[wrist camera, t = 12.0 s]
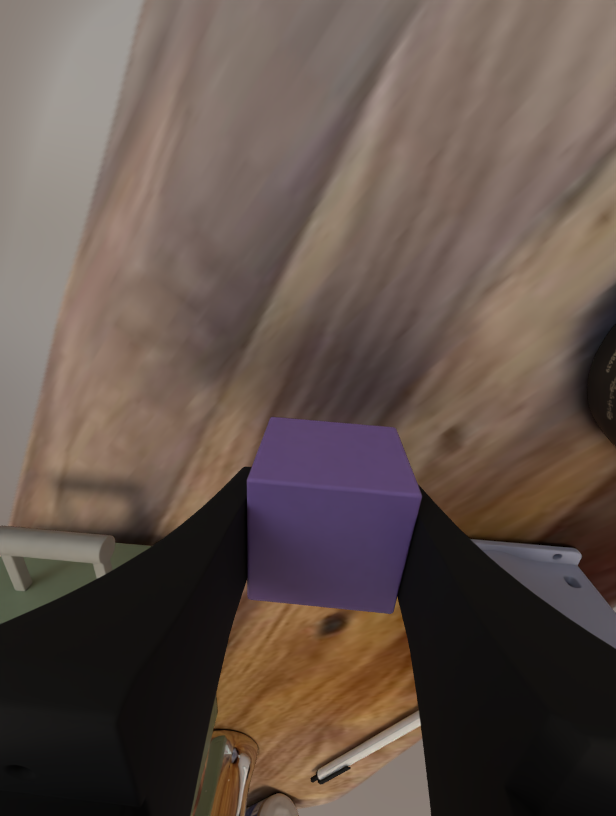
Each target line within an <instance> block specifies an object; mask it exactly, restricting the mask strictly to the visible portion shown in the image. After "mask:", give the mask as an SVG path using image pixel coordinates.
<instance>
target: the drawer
mask: <svg viewBox="0 0 616 816" xmlns="http://www.w3.org/2000/svg"><path fill="white" fill-rule="evenodd" d="M150 547H151V546H146V545H135V544H124V543H115V538H114V537H113V536H111V535H101V534H89V533H78V532H67V531H56V530H45V529H34V528H23V527H12V526H0V555H1V557H0V624H1V623H4V622H6V621H9V620H11V619H13V618H15V617H18V616H20V615H22V614H24V613H27V612H29V611H31V610H33V609H36V608H38V607H40V606H42V605H45V604H47V603H49V602H51V601H54V600H56V599H58V598H60V597H62V596H64V595H66V594H68V593H70V592H72V591H74V590H76V589H78V588H80V587H82V586H84V585H86V584H88V583H90V582H92V581H94V580H96V579H97V578H99V577H101V576H103V575H105V574H107V573H109V572H110V571H112V570H114V569H116V568H117V567H119V566H120V565H122V564H124V563H125V562H127V561H129V560H130V559H132V558H134V557H135V556H137V555H139V554H140V553H142V552H144V551H145V550H147V549H148V548H150Z"/></svg>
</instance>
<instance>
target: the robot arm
mask: <svg viewBox="0 0 616 816" xmlns="http://www.w3.org/2000/svg"><path fill="white" fill-rule="evenodd" d="M251 468H252V467H244V468H242V469H241V470H240V471H239V472H238V473H237V474H236V475H235V476H234V477H233V478H232V479H231V480H230V481H229V482H228V483H227V484H226V485H225V486H224V487H223V488H222V489H221V490H220V491H219V492H218V493H217V494H216V495H215V496H214V497H213V498H212V499H211V500H210V501H208V502H207V503H206V504H205V505H204V506H203V507H202V508H201V509H200V510H198V511H197V512H196V513H195V514H194V515H192V516H191V517H190V518H189V519H188V520H186V521H185V522H184V523H183V524H182V525H180V526H179V527H178V528H176V529H175V530H174V531H172V532H171V533H170V534H168V535H167V536H166V537H164V538H163V539H161V540H160V541H159V542H157V543H156V544H154V545H153V546H151V547H150V548H148V549H147V550H145V551H144V552H142V553H140V554H139V555H137V556H135V557H134V558H132V559H130V560H129V561H127V562H125V563H124V564H122V565H120V566H119V567H117V568H116V569H114V570H112V571H110V572H109V573H107V574H105V575H103V576H101V577H99V578H97V579H96V580H94V581H92V582H90V583H88V584H86V585H84V586H82V587H80V588H78V589H76V590H74V591H72V592H70V593H68V594H66V595H64V596H62V597H60V598H58V599H56V600H54V601H51V602H49V603H47V604H45V605H42V606H40V607H38V608H36V609H33V610H31V611H29V612H27V613H24V614H22V615H20V616H18V617H15V618H13V619H11V620H9V621H6V622H4V623H1V624H0V816H190V815H191V810H192V805H193V800H194V795H195V790H196V785H197V780H198V775H199V770H200V766H201V761H202V756H203V752H204V747H205V742H206V737H207V733H208V728H209V723H210V718H211V714H212V709H213V705H214V700H215V696H216V691H217V687H218V682H219V678H220V673H221V669H222V665H223V660H224V656H225V652H226V647H227V643H228V639H229V634H230V631H231V627H232V624H233V620H234V617H235V614H236V611H237V608H238V605H239V602H240V599H241V596H242V592H243V589H244V586H245V583H246V580H247V478H248V476H249V473H250V471H251ZM418 486H419V485H418ZM419 489H420V491H421V494H422V499H421V503H420V507H419V511H418V515H417V519H416V523H415V527H414V531H413V535H412V539H411V543H410V547H409V551H408V555H407V559H406V563H405V567H404V571H403V575H402V579H401V583H400V587H399V591H398V595H397V596H398V601H399V605H400V609H401V613H402V617H403V621H404V625H405V630H406V634H407V638H408V643H409V648H410V653H411V659H412V666H413V673H414V680H415V687H416V693H417V701H418V708H419V716H420V723H421V731H422V738H423V747H424V755H425V764H426V772H427V780H428V789H429V798H430V807H431V816H616V613H615V612H614V610H613V609H612V608H611V607H610V605H609V604H608V603H607V602H606V600H605V599H604V598H603V597H602V595H601V594H600V593H599V592H598V591H597V589H596V588H595V587H594V586H593V584H592V583H591V582H590V581H589V579H588V578H587V577H586V576H585V574H584V573H583V572H582V571H581V569H580V568H579V567H578V566H577V565H578V563H579V561H580V560H581V557H582V556H581V554H580V552H579V551H578V550H577V549H575V548H568V547H556V546H545V545H534V544H522V543H511V542H499V541H488V540H476V539H470V538H468V537H467V536H466V535H465V534H464V533H463V532H462V531H461V530H460V529H459V528H458V527H457V526H456V525H455V524H454V523H453V522H452V520H451V519H450V518H449V517H448V516H447V515H446V514H445V513H444V512H443V511H442V510H441V509H440V508H439V507H438V506H437V505H436V503H435V502H434V501H433V500H432V499H431V498H430V497H429V496H428V495H427V494H426V492H425V491H424V490H423V489H422V488H421V487H420V486H419Z"/></svg>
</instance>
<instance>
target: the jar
mask: <svg viewBox="0 0 616 816" xmlns="http://www.w3.org/2000/svg"><path fill="white" fill-rule="evenodd" d="M587 396H588V404H589V408H590V411H591V414H592V416H593V418H594V420H595V421H596V423H597V424H598V426H599V427H600V428H601V430H602V431H603V432H604V434H605V435H606V436H607V437H608V439H609V440H610V441H611V442H612V443H613V444H614V445H615V446H616V324H615V325H614V327H613V328H612V329H611V330H610V332H609V333H608V334H607V336H606V337H605V339H604V340H603V342H602V344H601V345H600V347H599V349H598V351H597V353H596V355H595V357H594V360H593V363H592V366H591V369H590V373H589V378H588V386H587Z"/></svg>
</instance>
